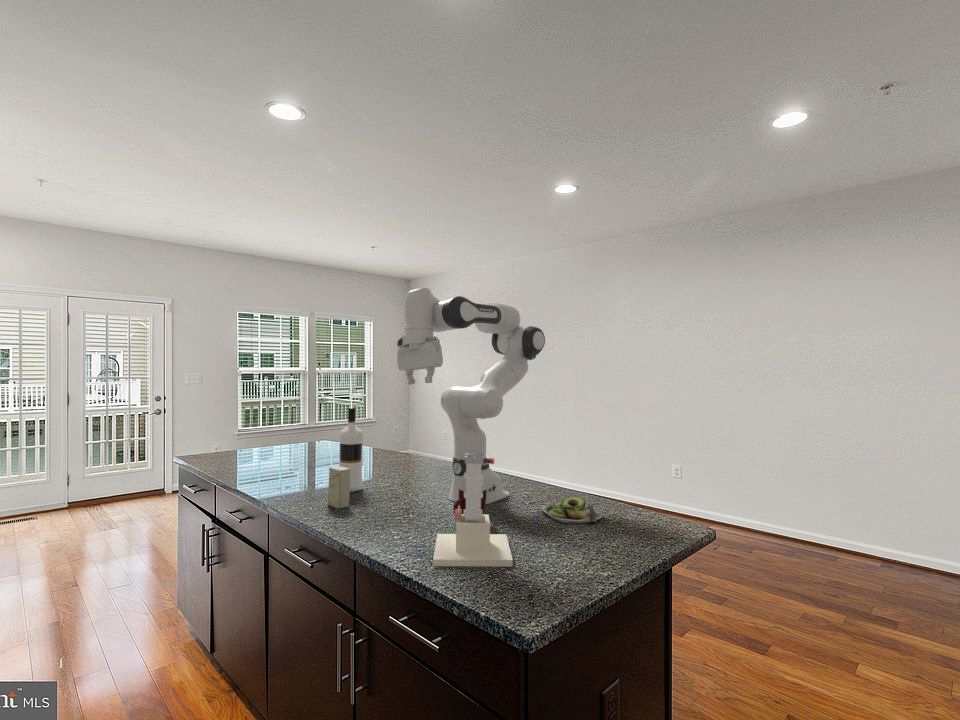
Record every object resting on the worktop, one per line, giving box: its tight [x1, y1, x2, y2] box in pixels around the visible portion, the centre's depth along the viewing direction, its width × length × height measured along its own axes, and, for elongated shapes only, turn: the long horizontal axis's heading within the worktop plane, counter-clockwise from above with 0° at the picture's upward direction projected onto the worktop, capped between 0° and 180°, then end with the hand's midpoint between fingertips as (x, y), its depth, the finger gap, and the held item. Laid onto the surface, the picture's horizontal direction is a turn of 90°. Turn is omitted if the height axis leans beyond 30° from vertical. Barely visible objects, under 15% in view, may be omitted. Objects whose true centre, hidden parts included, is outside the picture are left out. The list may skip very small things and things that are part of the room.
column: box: [463, 453, 484, 523], centre depth 124 cm, size 6×5×24 cm
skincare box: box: [327, 465, 351, 509], centre depth 163 cm, size 6×4×12 cm
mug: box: [452, 486, 486, 515], centre depth 146 cm, size 10×8×10 cm
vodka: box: [338, 407, 364, 493], centre depth 185 cm, size 9×9×30 cm
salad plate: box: [541, 496, 604, 525], centre depth 155 cm, size 19×18×5 cm
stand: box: [432, 508, 514, 568], centre depth 123 cm, size 18×18×10 cm
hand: (419, 383), depth 157 cm, fingers open, 8 cm apart
